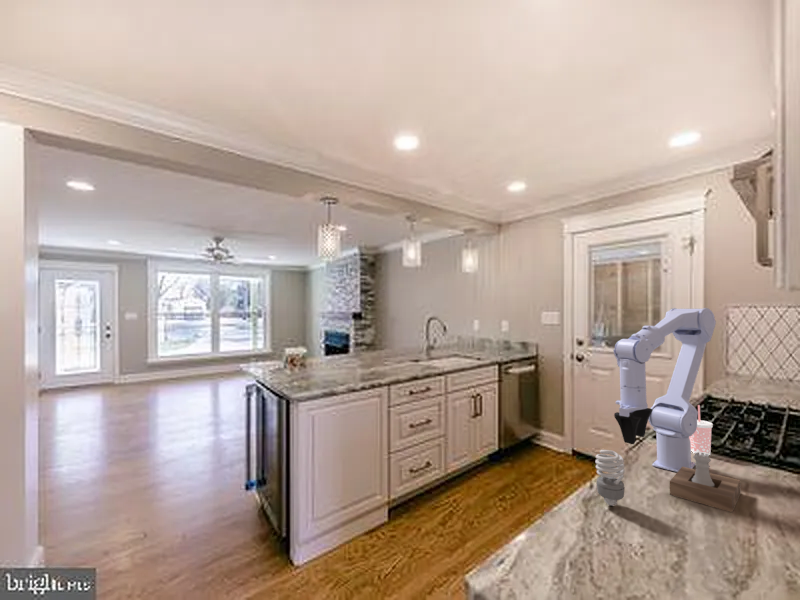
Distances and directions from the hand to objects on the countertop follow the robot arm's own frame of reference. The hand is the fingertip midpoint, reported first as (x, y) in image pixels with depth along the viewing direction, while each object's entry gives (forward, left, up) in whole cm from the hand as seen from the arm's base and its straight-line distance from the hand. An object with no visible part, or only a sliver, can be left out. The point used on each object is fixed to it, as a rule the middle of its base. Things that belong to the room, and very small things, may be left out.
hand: (634, 439), depth 99 cm
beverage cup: (-31, +8, -10) cm, 33 cm away
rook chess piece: (-1, +14, -9) cm, 16 cm away
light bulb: (+20, +1, -10) cm, 22 cm away
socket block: (-1, +14, -9) cm, 17 cm away
